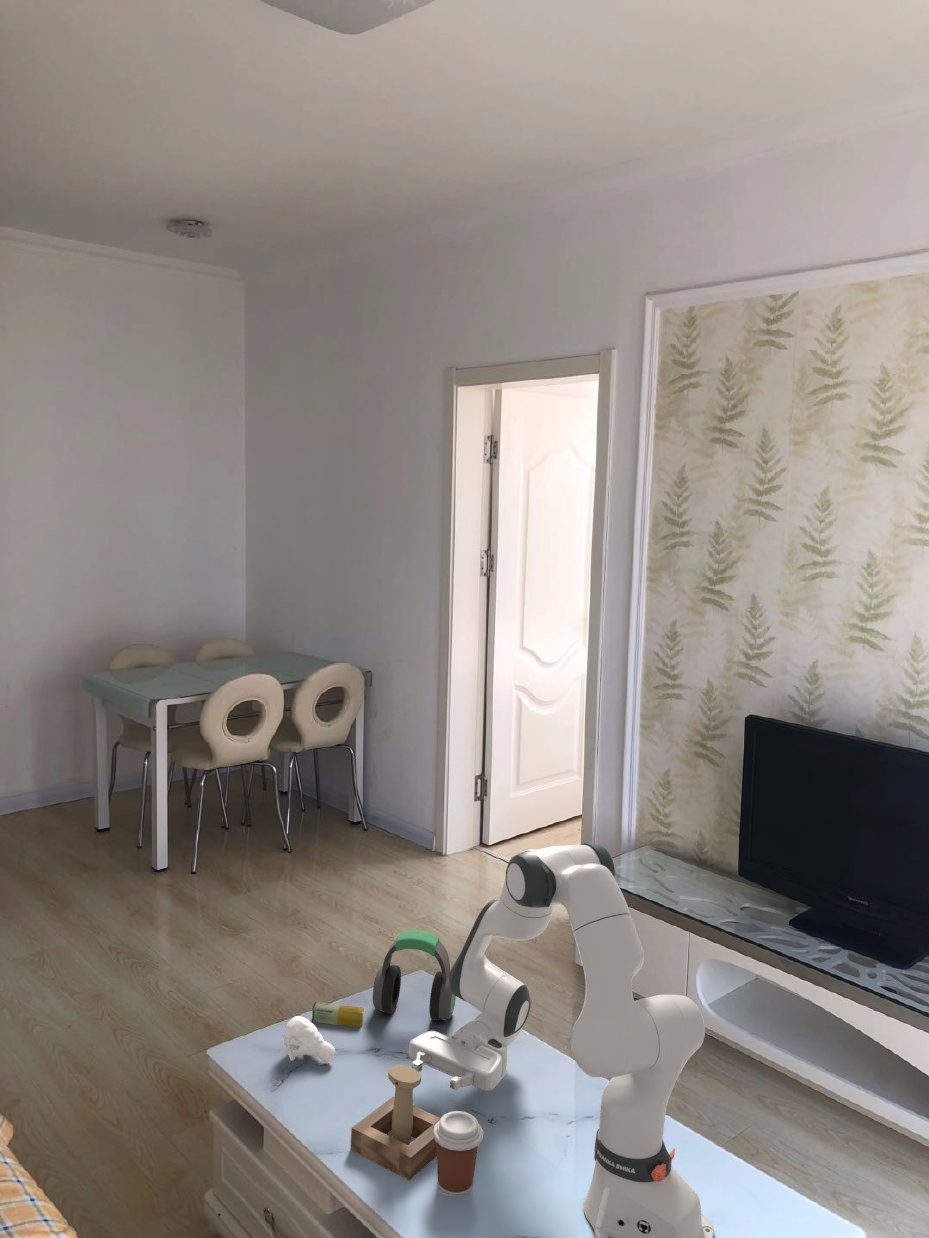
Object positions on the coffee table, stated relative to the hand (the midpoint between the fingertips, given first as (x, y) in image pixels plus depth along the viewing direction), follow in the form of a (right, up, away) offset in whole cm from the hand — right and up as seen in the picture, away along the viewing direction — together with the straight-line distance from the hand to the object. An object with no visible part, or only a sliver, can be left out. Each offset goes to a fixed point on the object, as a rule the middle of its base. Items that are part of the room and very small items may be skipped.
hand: (433, 1076), depth 201 cm
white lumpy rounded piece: (-28, -6, +21) cm, 35 cm away
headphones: (-6, -4, +43) cm, 44 cm away
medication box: (-24, -4, +37) cm, 44 cm away
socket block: (-6, -10, -7) cm, 14 cm away
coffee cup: (+4, -12, -16) cm, 21 cm away
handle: (-6, -10, -7) cm, 14 cm away
